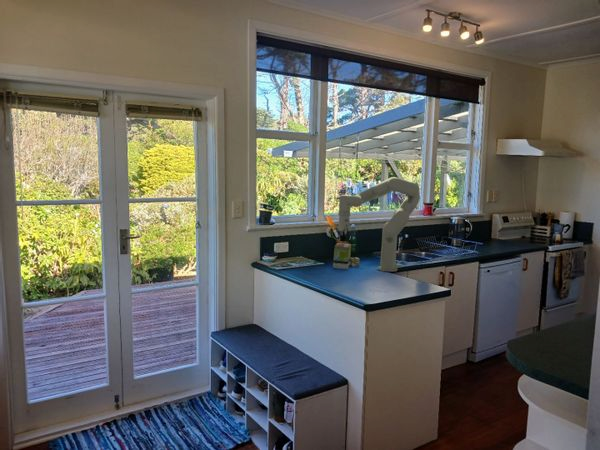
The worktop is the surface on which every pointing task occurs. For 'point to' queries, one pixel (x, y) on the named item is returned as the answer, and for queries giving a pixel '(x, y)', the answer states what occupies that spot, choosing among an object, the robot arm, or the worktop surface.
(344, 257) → the tea box
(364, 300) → the worktop surface
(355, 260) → the birch block
